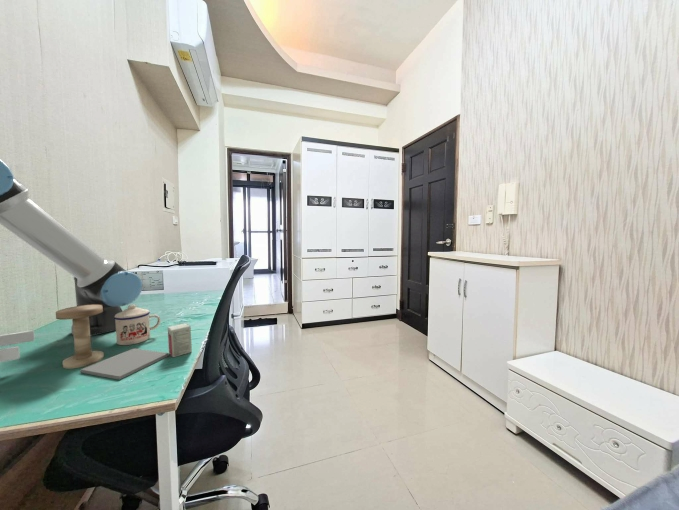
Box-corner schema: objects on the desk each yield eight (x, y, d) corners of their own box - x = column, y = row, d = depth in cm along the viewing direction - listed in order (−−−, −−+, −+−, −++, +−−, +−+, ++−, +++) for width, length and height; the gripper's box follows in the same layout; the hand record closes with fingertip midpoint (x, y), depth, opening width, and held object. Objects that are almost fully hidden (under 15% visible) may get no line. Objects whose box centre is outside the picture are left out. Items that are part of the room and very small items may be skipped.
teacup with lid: (117, 348, 80) (114, 310, 80) (114, 340, 87) (112, 305, 86) (163, 338, 89) (162, 303, 88) (158, 331, 95) (156, 299, 94)
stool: (91, 352, 78) (87, 303, 77) (114, 356, 75) (110, 305, 74) (51, 367, 69) (46, 312, 68) (75, 371, 67) (70, 314, 66)
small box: (187, 348, 80) (186, 322, 80) (192, 352, 77) (190, 325, 77) (168, 353, 77) (167, 326, 76) (172, 358, 74) (170, 330, 73)
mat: (133, 350, 79) (133, 348, 79) (168, 355, 75) (168, 353, 75) (80, 372, 66) (80, 369, 66) (119, 379, 63) (119, 376, 63)
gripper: (-96, 366, 62) (39, 342, 75) (-193, 423, 43) (12, 378, 56) (-100, 334, 61) (37, 316, 75) (-199, 378, 42) (9, 343, 56)
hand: (27, 343), depth 66 cm, fingers open, 13 cm apart
